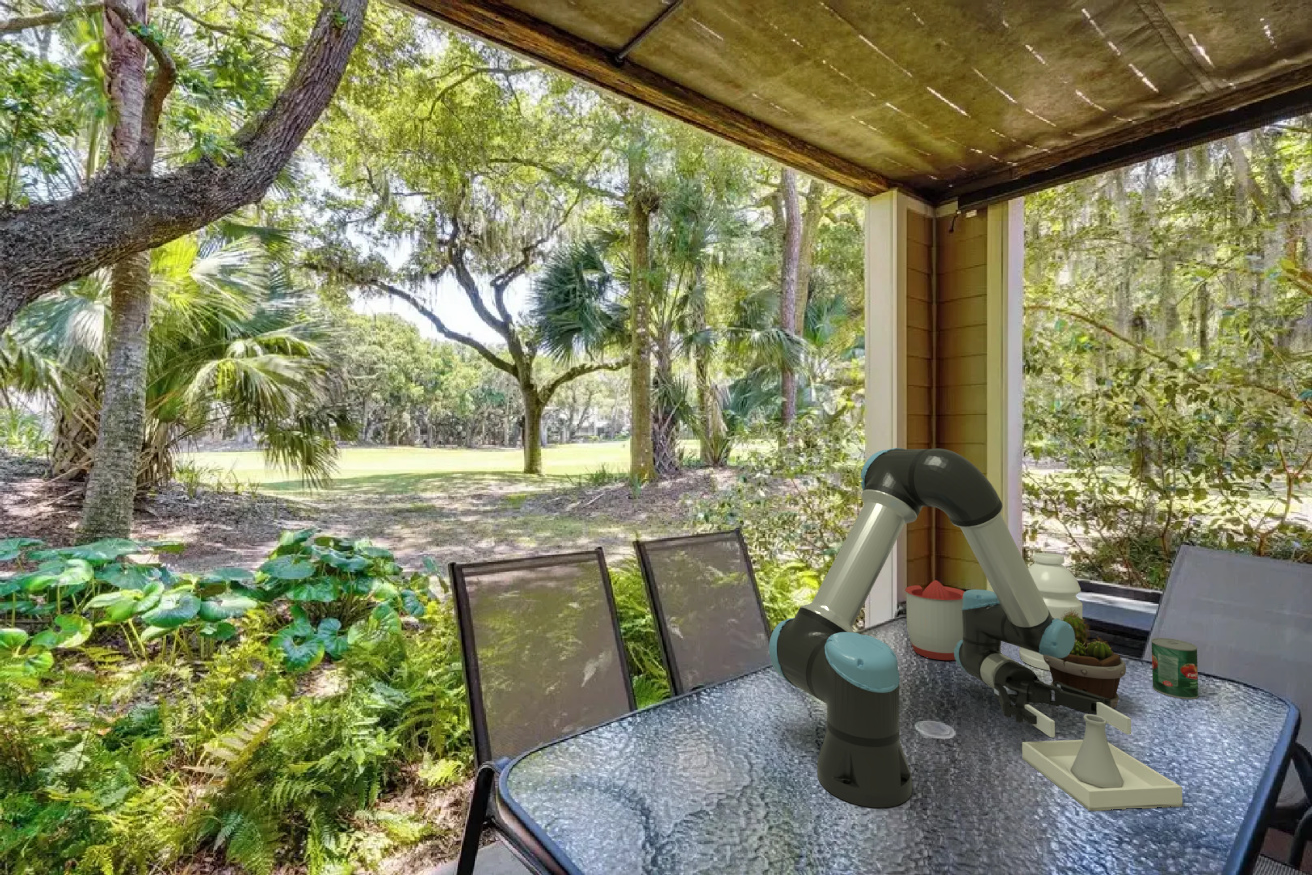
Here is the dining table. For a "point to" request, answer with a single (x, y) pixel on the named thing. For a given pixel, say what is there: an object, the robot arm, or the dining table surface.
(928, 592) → the citrus juicer
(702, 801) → the dining table surface
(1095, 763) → the flask
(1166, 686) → the canned tomato
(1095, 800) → the box
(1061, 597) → the bottle
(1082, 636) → the flowerpot
